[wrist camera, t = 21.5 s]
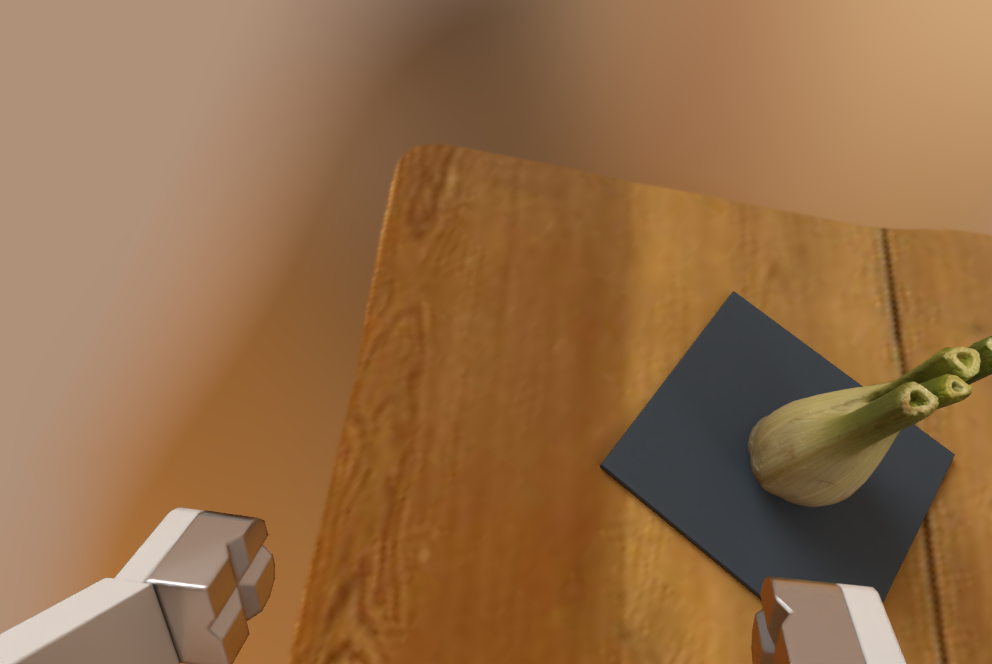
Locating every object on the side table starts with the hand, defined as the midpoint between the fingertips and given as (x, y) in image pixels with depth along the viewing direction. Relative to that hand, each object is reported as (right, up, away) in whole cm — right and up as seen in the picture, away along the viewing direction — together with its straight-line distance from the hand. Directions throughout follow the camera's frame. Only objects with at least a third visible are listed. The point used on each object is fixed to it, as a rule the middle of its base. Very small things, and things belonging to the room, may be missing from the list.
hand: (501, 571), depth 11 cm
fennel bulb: (+14, -3, +24) cm, 28 cm away
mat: (+14, -3, +24) cm, 28 cm away
